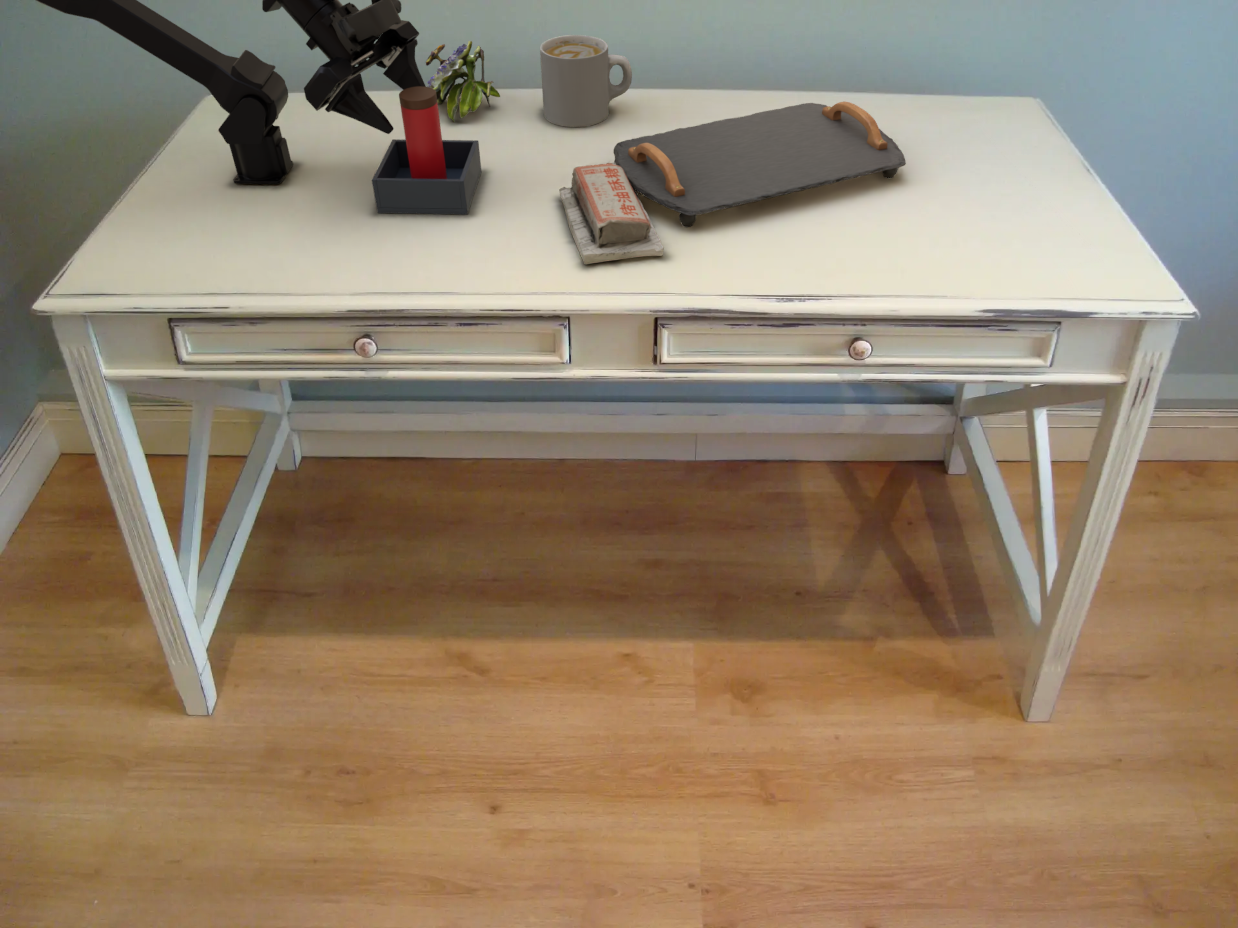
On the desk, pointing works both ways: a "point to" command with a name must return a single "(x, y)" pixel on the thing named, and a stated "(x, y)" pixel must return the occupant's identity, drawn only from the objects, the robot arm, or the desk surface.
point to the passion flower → (467, 89)
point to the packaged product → (607, 215)
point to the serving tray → (756, 157)
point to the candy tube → (423, 133)
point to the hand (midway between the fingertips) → (411, 117)
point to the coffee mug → (579, 80)
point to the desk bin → (428, 181)
